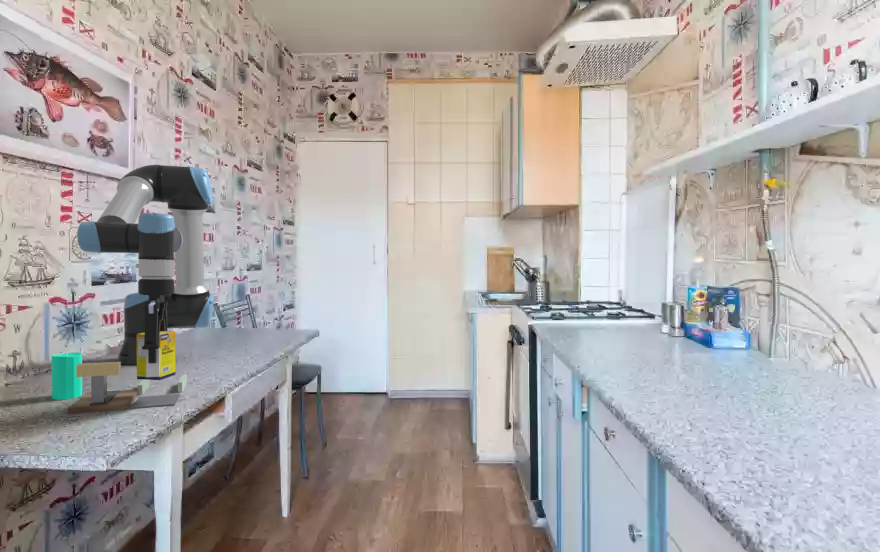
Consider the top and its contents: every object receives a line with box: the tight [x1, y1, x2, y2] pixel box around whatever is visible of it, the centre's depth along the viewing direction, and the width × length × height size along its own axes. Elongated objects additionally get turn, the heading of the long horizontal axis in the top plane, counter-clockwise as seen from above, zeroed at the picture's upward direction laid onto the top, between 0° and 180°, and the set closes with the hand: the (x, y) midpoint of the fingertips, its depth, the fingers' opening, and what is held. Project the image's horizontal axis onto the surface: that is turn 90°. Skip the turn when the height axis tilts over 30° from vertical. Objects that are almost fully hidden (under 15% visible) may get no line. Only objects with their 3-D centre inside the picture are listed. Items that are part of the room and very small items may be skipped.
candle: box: [51, 351, 83, 401], centre depth 121 cm, size 6×6×12 cm
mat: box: [130, 393, 181, 410], centre depth 118 cm, size 9×9×1 cm
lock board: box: [67, 388, 139, 414], centre depth 116 cm, size 13×11×2 cm
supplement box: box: [136, 330, 176, 381], centre depth 118 cm, size 6×6×11 cm
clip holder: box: [137, 374, 188, 396], centre depth 129 cm, size 9×10×2 cm
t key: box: [76, 361, 122, 403], centre depth 111 cm, size 2×8×9 cm, turn 110°
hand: (156, 372), depth 118 cm, fingers closed on supplement box, 8 cm apart
